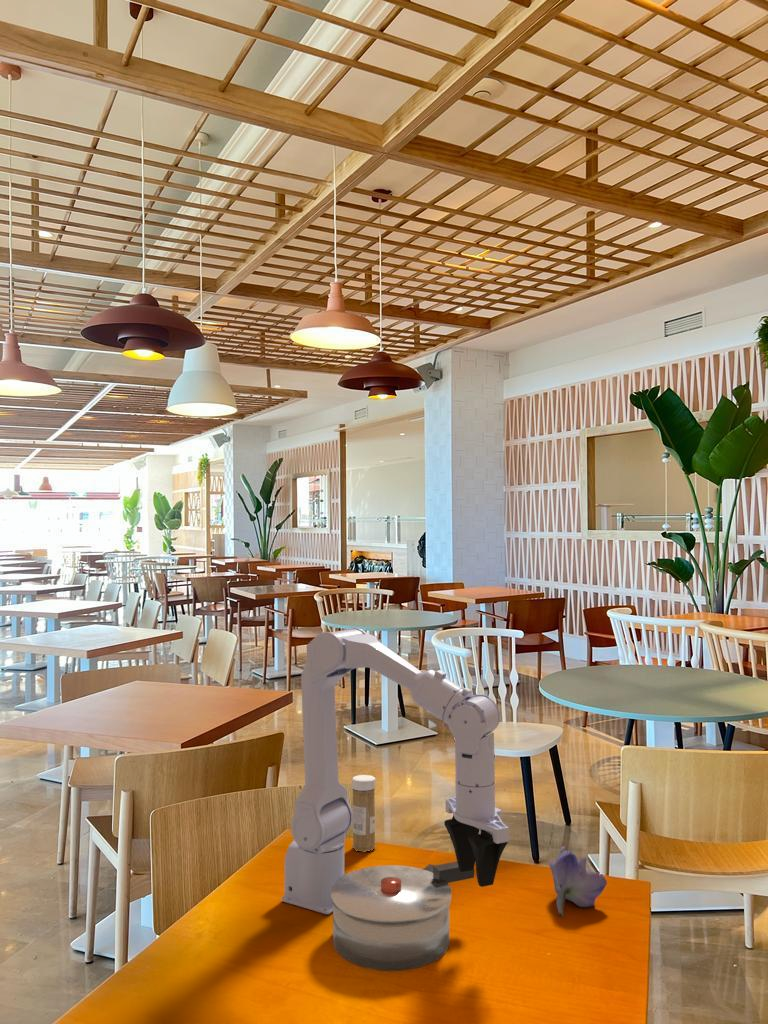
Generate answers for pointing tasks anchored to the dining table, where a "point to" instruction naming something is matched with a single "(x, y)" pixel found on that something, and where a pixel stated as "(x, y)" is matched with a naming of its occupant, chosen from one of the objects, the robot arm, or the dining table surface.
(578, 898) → the flower
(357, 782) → the sprinkles bottle
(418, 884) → the cooker lid
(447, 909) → the cooker pot
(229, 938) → the dining table surface
